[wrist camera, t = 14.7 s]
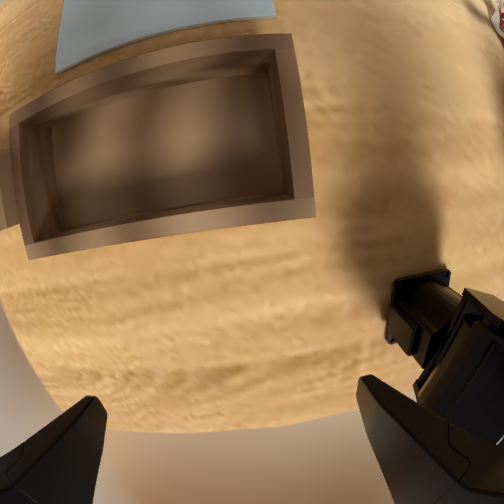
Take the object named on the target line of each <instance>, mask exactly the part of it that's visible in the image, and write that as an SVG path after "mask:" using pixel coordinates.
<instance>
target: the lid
mask: <svg viewBox="0 0 504 504" xmlns="http://www.w3.org/2000/svg"><path fill="white" fill-rule="evenodd" d="M256 19H276V12H275V7H274V3H273V0H64V5H63V10H62V15H61V21H60V27H59V34H58V41H57V50H56V62H55V74H59V73H61V72H63V71H65V70H67V69H69V68H71V67H73V66H75V65H77V64H80V63H82V62H84V61H86V60H89V59H91V58H93V57H96V56H98V55H101V54H103V53H106V52H108V51H111V50H113V49H116V48H119V47H122V46H125V45H128V44H131V43H134V42H137V41H140V40H143V39H147V38H150V37H154V36H158V35H161V34H165V33H169V32H174V31H178V30H183V29H188V28H193V27H198V26H204V25H210V24H217V23H224V22H233V21H243V20H256Z"/></svg>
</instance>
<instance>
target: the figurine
mask: <svg viewBox="0 0 504 504" xmlns="http://www.w3.org/2000/svg"><path fill="white" fill-rule="evenodd" d="M497 2H499V5H498V7H497V9H496V11H495V12H494V14H493V15H492V17H491V21H492V23H493V25H494V27H495V29H496V31H497V33H498V34H499V35H501V36H502V37H503V38H504V32H503V31H502V30H501V29H500V26H499V19H500V24H501V26H502V27H503V29H504V20H503V19H504V12H503V13H502V14H501V7H502V0H498V1H497ZM497 2H496V3H497ZM503 8H504V3H503ZM502 18H503V19H502Z"/></svg>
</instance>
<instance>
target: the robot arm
mask: <svg viewBox="0 0 504 504" xmlns="http://www.w3.org/2000/svg"><path fill="white" fill-rule="evenodd" d="M445 274H446V275H445ZM450 275H451V272H450V270H448V269H447V268H444V269H440V270H435V271H431V272H427V273H422V274H417V275H413V276H408V277H403V278H398V279H396V280H395V281H394V283H393V289H392V299H391V305H390V308H389V316H388V324H387V337H386V341H387V342H388V344H395V343H398V344H399V346H400V347H401V348H402V350H403V351H404V352H405V353H406V354H407V355H408V356H411V355H412V356H413V357H414V359H415V360H416V361H417V362H418V364H419V365H420V366H421V368H422V369H424V370H423V372H422V374H421V375H420V377H419V378H418V379H417V380H416V381H415V382H414V384H413V388H414V392H415V395H416V399H417V402H415V401H413V400H411V399H410V398H408V397H407V396H405V395H404V394H402V393H400V392H399V391H397V390H396V389H394V388H392V387H391V386H389V385H388V384H386V383H385V382H383V381H381V380H380V379H378V378H377V377H375V376H374V375H371V374H369V375H365V376H361V377H360V378H359V380H358V386H357V392H356V398H357V402H358V405H359V409H360V412H361V416H362V419H363V423H364V426H365V430H366V433H367V436H368V439H369V442H370V444H371V446H372V449H373V451H374V453H375V456H376V458H377V460H378V463H379V465H380V468H381V470H382V473H383V475H384V478H385V480H386V483H387V485H388V488H389V490H390V493H391V495H392V498H393V500H394V503H395V504H504V301H502V300H500V299H499V298H497V297H495V296H493V295H490V294H487V293H483V292H480V291H476V290H472V289H469V288H464V291H463V293H462V295H463V296H461V295H460V294H458V293H457V292H456V291H454V290H453V289H451V288H450V287H449V281H450ZM399 283H400V285H399V286H398V284H399ZM106 423H107V412H106V410H105V408H104V406H103V405H102V403H101V402H100V400H99V399H98V398H97V397H96V396H85V397H84V398H83V399H81V400H80V401H79V402H77V403H76V404H75V405H73V406H72V407H71V408H69V409H68V410H67V411H65V412H64V413H63V414H61V415H60V416H59V417H57V418H56V419H54V420H53V421H52V422H50V423H49V424H48V425H46V426H45V427H44V428H42V429H41V430H39V431H38V432H37V433H35V434H34V435H33V436H31V437H30V438H28V439H27V440H26V441H25V442H23V443H22V444H20V445H19V446H17V447H16V448H15V449H13V450H11V451H10V452H8V453H7V454H5V455H3V456H2V457H0V504H92V503H93V497H94V490H95V485H96V480H97V474H98V470H99V465H100V461H101V456H102V452H103V444H104V437H105V430H106Z"/></svg>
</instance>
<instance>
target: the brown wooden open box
mask: <svg viewBox="0 0 504 504" xmlns="http://www.w3.org/2000/svg"><path fill="white" fill-rule="evenodd" d="M313 217H316V214H315V201H314V189H313V178H312V167H311V158H310V149H309V140H308V132H307V125H306V117H305V110H304V103H303V96H302V90H301V84H300V78H299V72H298V66H297V60H296V55H295V50H294V45H293V40H292V35H291V34H259V35H245V36H235V37H226V38H218V39H211V40H205V41H199V42H193V43H188V44H183V45H178V46H174V47H169V48H165V49H161V50H157V51H153V52H150V53H146V54H142V55H139V56H136V57H132V58H129V59H126V60H123V61H120V62H117V63H114V64H112V65H109V66H106V67H104V68H101V69H98V70H96V71H93V72H91V73H88V74H86V75H84V76H81V77H79V78H77V79H75V80H72V81H70V82H68V83H66V84H64V85H62V86H60V87H58V88H56V89H54V90H52V91H50V92H48V93H46V94H44V95H43V96H41V97H39V98H37V99H35V100H34V101H32V102H30V103H28V104H27V105H25V106H23V107H22V108H20V109H19V110H17V111H15V112H14V113H12V114H11V115H10V150H0V231H1V230H4V229H6V228H9V227H12V226H14V225H17V224H20V227H21V231H22V236H23V240H24V244H25V248H26V252H27V256H28V259H29V260H32V259H37V258H42V257H47V256H53V255H58V254H63V253H69V252H74V251H80V250H86V249H92V248H97V247H103V246H109V245H115V244H121V243H128V242H134V241H140V240H147V239H153V238H160V237H166V236H173V235H180V234H187V233H194V232H201V231H208V230H215V229H223V228H230V227H238V226H246V225H253V224H261V223H270V222H278V221H286V220H295V219H304V218H313Z"/></svg>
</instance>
